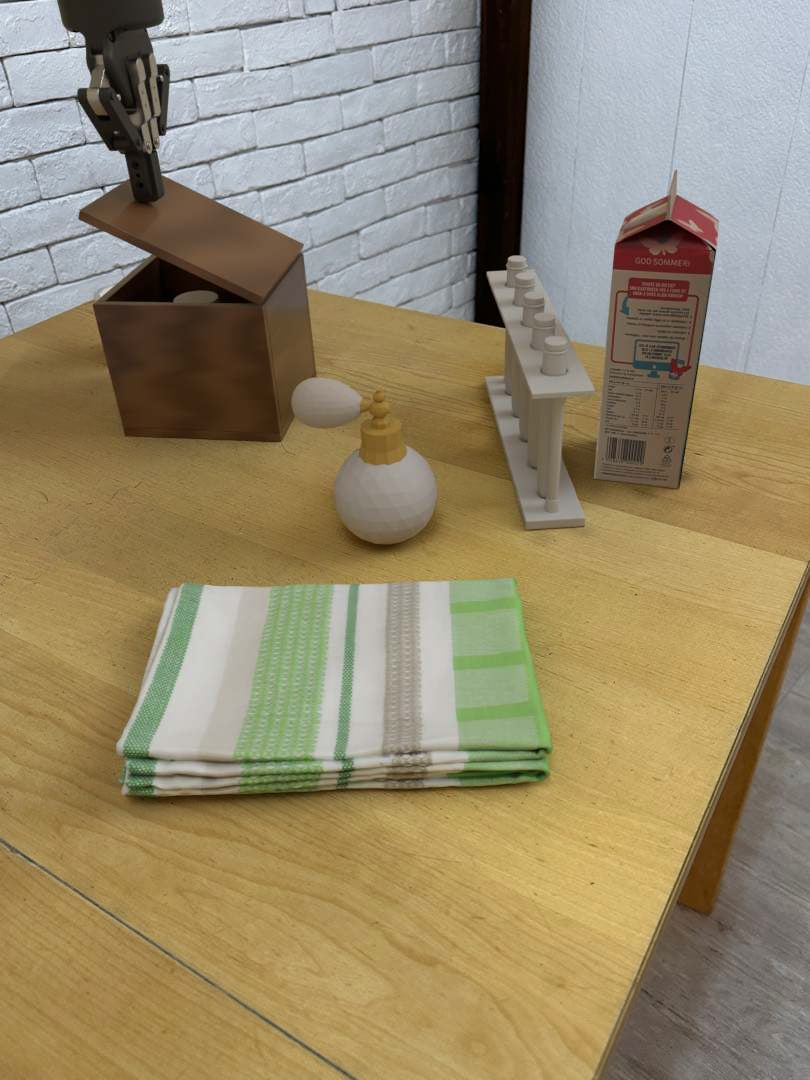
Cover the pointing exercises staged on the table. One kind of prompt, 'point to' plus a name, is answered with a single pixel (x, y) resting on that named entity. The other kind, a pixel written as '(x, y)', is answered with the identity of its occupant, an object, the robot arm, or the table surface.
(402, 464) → the perfume bottle
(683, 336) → the juice carton
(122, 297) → the chest
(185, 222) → the lid
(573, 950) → the table surface
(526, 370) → the test tube rack
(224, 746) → the dish towel
